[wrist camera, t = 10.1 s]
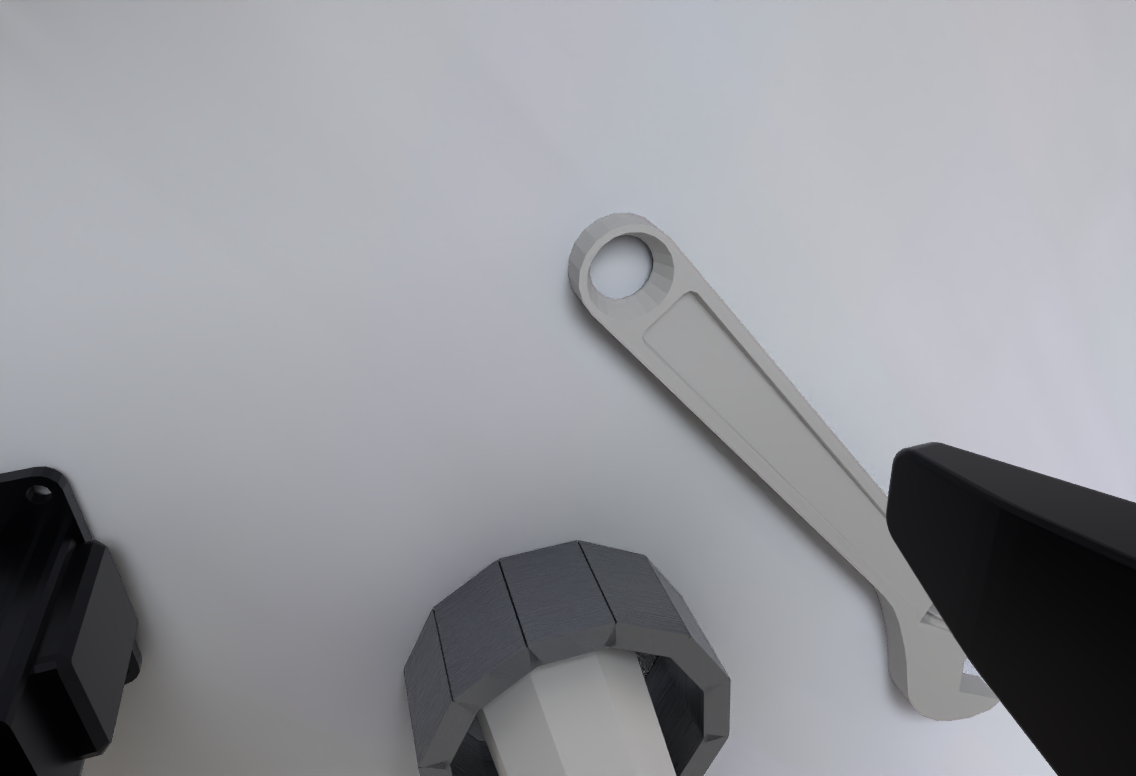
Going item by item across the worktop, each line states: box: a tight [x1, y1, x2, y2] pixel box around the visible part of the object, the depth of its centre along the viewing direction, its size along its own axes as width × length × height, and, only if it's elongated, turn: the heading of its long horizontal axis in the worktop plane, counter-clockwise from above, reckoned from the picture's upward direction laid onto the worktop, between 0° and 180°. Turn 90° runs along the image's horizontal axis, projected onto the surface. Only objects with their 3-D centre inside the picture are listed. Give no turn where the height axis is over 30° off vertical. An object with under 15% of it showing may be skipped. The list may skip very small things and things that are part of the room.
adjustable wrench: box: [568, 213, 1000, 721], centre depth 27 cm, size 25×6×2 cm, turn 37°
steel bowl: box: [404, 541, 730, 776], centre depth 25 cm, size 9×9×4 cm
